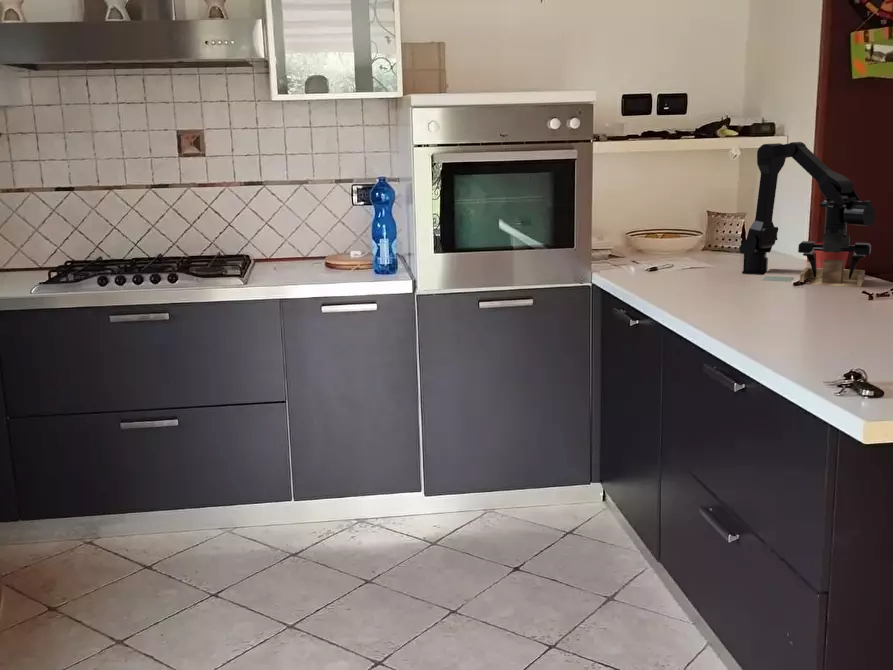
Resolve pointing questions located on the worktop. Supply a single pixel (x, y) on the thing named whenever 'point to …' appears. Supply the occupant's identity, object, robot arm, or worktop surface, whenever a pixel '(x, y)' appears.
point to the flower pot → (830, 257)
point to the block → (832, 271)
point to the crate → (855, 281)
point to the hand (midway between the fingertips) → (832, 277)
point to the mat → (777, 278)
